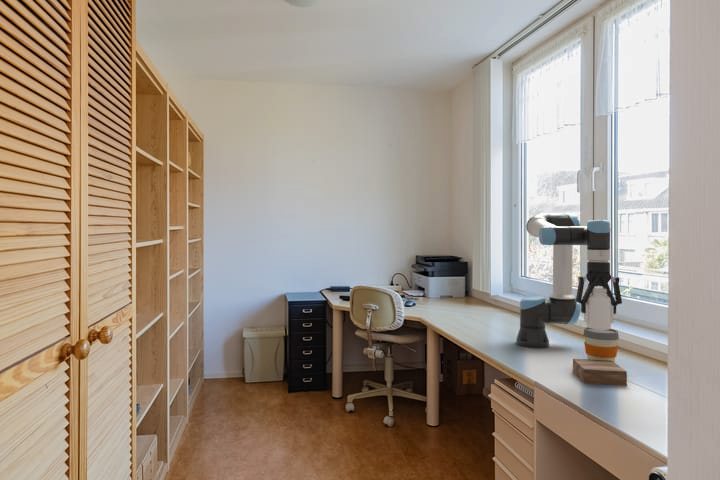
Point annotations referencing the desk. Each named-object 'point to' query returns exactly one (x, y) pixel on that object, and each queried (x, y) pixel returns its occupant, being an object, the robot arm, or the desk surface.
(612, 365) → the walnut base
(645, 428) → the desk surface
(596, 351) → the reusable coffee cup
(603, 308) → the pill bottle
